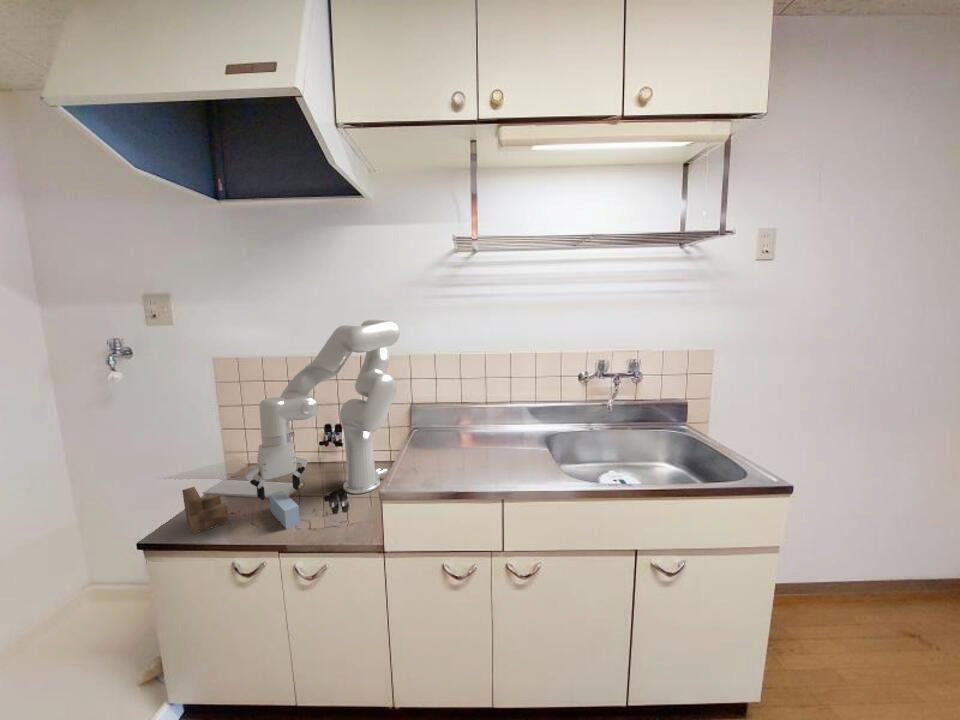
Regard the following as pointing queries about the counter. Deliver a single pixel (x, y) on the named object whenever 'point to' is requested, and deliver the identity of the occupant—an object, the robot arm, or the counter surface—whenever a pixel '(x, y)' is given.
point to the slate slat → (284, 509)
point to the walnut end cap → (203, 510)
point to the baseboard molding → (248, 488)
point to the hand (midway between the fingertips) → (279, 493)
